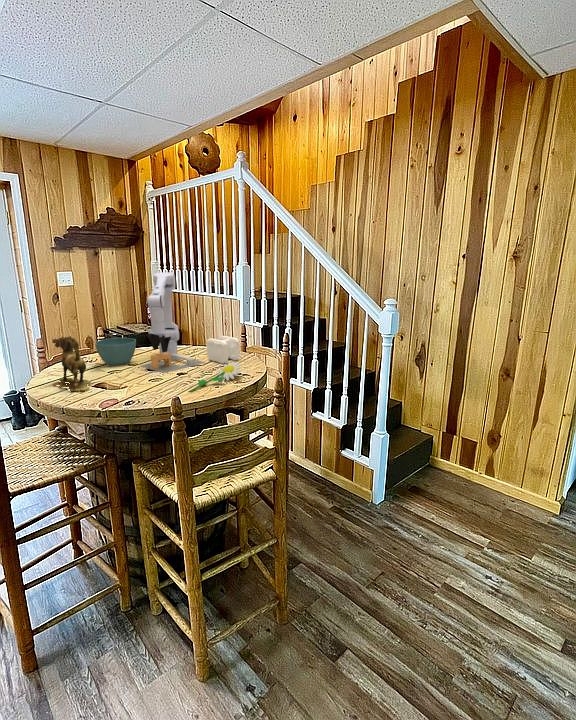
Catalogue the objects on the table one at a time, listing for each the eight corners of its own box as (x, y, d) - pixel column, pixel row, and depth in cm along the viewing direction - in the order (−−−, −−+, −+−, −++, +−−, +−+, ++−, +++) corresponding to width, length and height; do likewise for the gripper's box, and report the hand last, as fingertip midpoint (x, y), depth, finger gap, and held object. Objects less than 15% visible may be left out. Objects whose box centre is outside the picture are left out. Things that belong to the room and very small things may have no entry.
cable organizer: (241, 361, 207) (240, 338, 204) (224, 365, 200) (223, 342, 197) (222, 356, 217) (221, 335, 214) (206, 360, 210) (205, 338, 207)
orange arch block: (151, 367, 190) (150, 355, 189) (166, 364, 196) (165, 352, 194) (156, 369, 188) (155, 356, 186) (171, 365, 193) (170, 353, 192)
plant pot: (133, 359, 213) (130, 336, 210) (142, 366, 198) (139, 342, 195) (95, 364, 203) (92, 340, 200) (102, 372, 189) (98, 346, 186)
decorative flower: (201, 401, 157) (249, 372, 180) (198, 389, 155) (247, 362, 178) (178, 397, 164) (227, 370, 187) (175, 386, 162) (225, 360, 185)
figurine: (81, 376, 183) (75, 331, 178) (99, 389, 165) (93, 339, 160) (49, 382, 175) (41, 335, 170) (65, 396, 157) (57, 344, 152)
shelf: (140, 368, 194) (139, 359, 193) (182, 359, 212) (182, 350, 211) (163, 376, 182) (162, 366, 181) (206, 365, 199) (206, 355, 198)
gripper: (141, 321, 188) (144, 349, 192) (158, 324, 179) (161, 354, 182) (155, 319, 193) (157, 347, 197) (172, 322, 184) (174, 351, 187)
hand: (160, 350), depth 190 cm, fingers open, 7 cm apart
